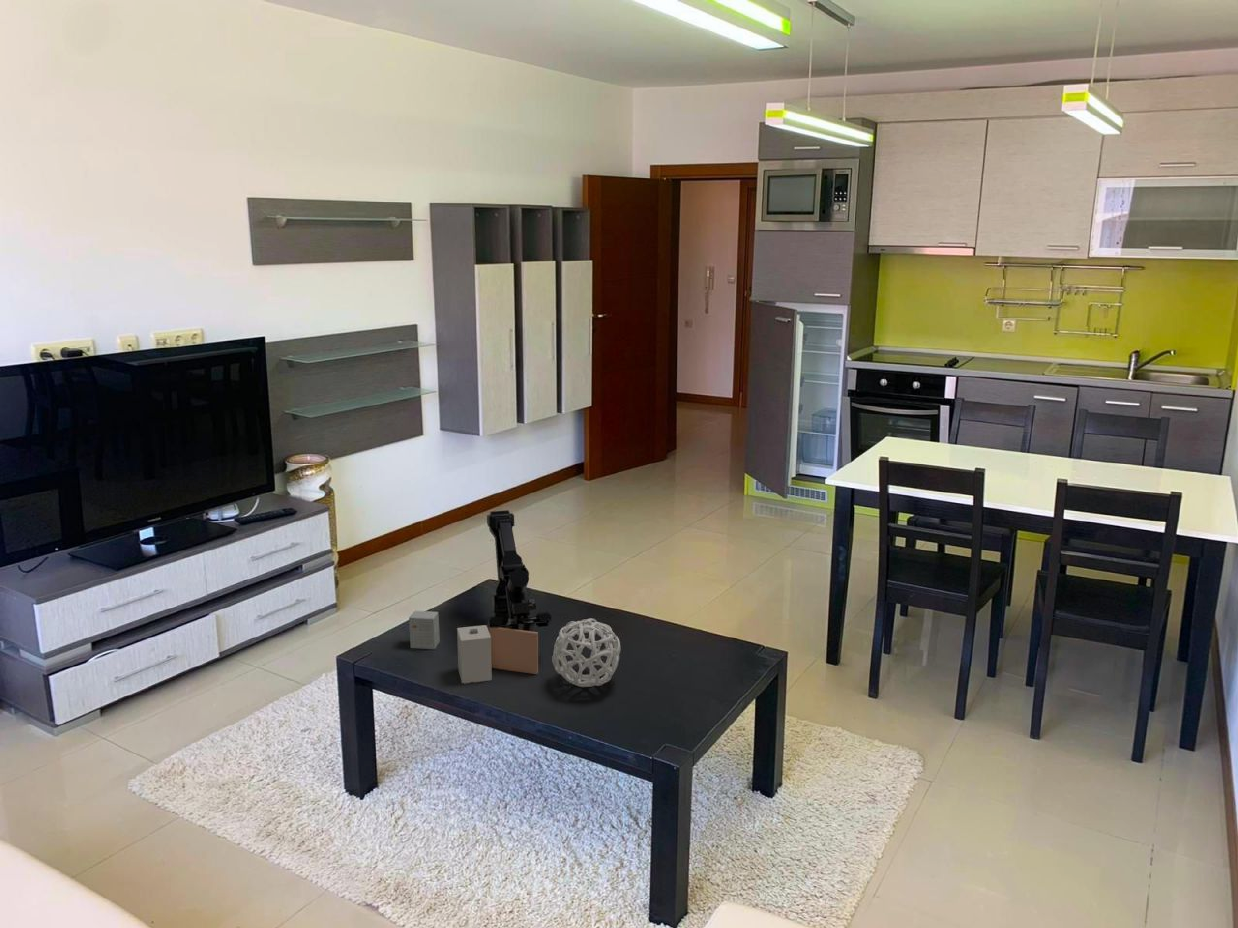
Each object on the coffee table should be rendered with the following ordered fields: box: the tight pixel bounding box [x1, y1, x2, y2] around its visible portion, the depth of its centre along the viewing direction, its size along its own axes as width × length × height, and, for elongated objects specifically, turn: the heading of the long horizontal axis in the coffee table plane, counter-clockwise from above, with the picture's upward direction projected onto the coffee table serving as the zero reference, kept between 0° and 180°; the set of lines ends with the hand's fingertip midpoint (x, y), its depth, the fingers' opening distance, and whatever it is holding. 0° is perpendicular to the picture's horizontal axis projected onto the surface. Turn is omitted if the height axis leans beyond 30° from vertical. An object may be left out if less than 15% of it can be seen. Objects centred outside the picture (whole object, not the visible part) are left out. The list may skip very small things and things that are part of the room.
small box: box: [408, 610, 441, 650], centre depth 290 cm, size 8×6×10 cm
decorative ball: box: [551, 617, 622, 688], centre depth 265 cm, size 20×20×19 cm
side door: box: [489, 626, 539, 675], centre depth 273 cm, size 1×15×13 cm, turn 75°
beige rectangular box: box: [456, 624, 493, 684], centre depth 271 cm, size 10×9×14 cm
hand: (522, 648), depth 274 cm, fingers closed
